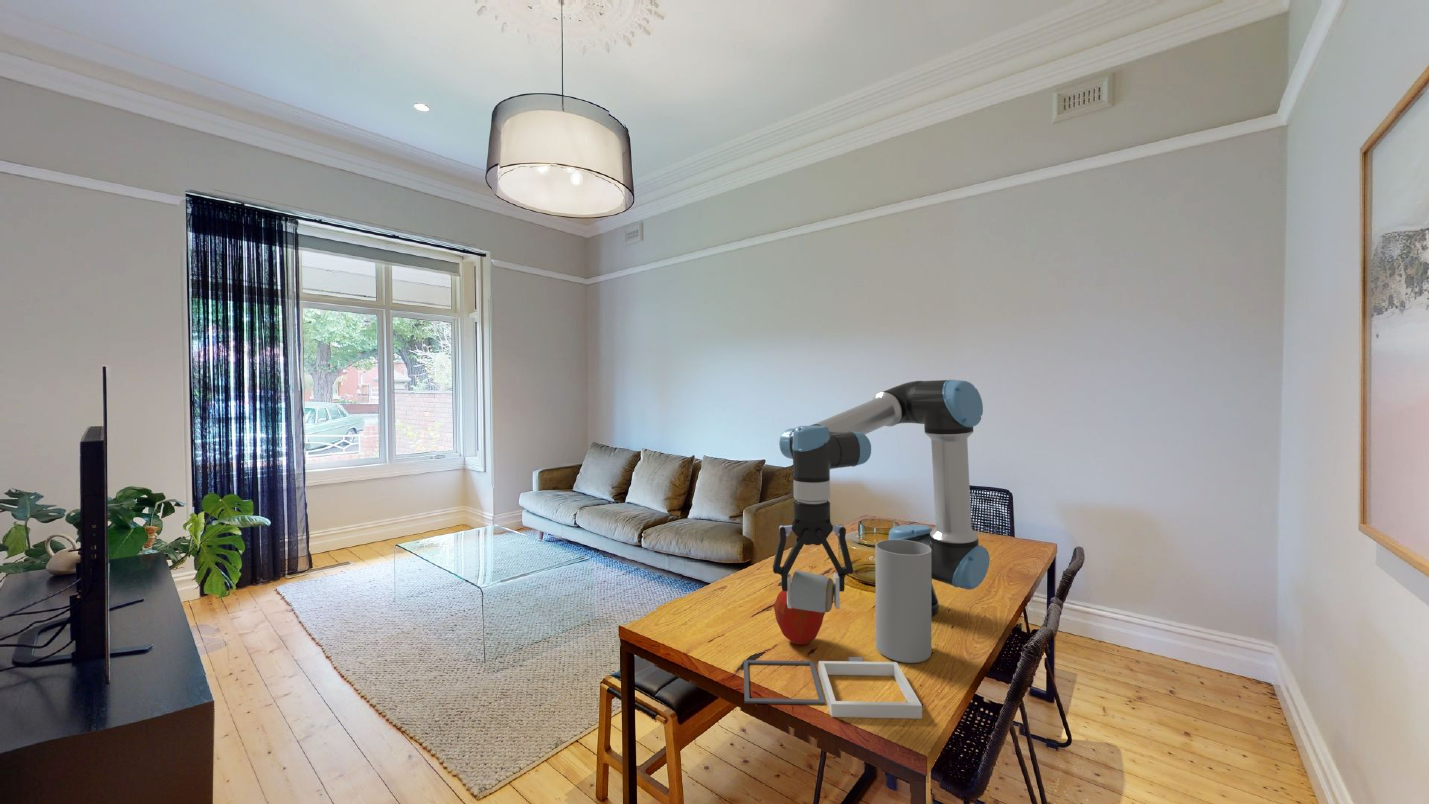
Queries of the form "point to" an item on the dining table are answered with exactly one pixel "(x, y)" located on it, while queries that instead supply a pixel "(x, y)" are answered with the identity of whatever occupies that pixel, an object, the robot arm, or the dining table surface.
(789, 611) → the apple
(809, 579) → the ceramic mug
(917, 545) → the cylinder vase
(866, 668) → the socket
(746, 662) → the tray outline
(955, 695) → the dining table surface
